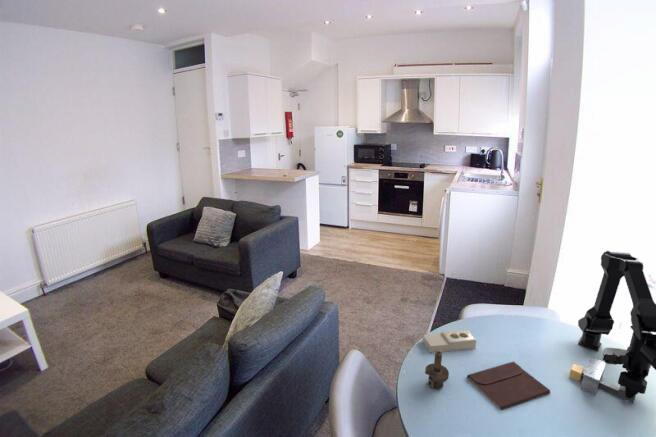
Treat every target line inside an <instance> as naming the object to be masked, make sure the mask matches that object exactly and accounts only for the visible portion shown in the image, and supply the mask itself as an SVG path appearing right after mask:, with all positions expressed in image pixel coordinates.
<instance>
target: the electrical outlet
mask: <svg viewBox="0 0 656 437" xmlns="http://www.w3.org/2000/svg"><path fill="white" fill-rule="evenodd" d="M422 342H423V344H424V345H425V347H426V348H427V350H428V352H429V353H435V352H436V351H440V352H441V353H443V352H452V351H463V350H475V349H476V346H477V339H476V337H474V336H473V334H472V333H471V332H470V331H469V330H468V329H459V330H458V329H457V330H446V331H441V333H430V334H423V335H422Z"/></svg>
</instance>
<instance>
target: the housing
mask: <svg viewBox="0 0 656 437" xmlns="http://www.w3.org/2000/svg"><path fill="white" fill-rule="evenodd" d="M606 366H607V363H605V361H604V360H601V359H597V358H596V357H594V356H593V357H591V358H590V360H589V362H588V365H587V367H586V369H585V371H584V372H583V373H584V376H583V380H581V381H582V382H581V385H580V390H582V391H585V392H587V393H590V394H592V395H594V396H597V395H596V394H597V393H598V390H599V387H598V386H599V382H600V380H601V381H603V380H602V379H603V376H604V375H605V374H604V372H605V368H606Z"/></svg>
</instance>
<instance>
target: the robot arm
mask: <svg viewBox="0 0 656 437" xmlns="http://www.w3.org/2000/svg"><path fill="white" fill-rule="evenodd" d="M600 260H601V262H600V266H601V268H602V270H603V272H604V273H603V275H602V278H601V282H600V285H599V289H598V291H597V295H596V298H595V302H594V305H593V306H592V307H591V308H588V309H587V311H586V312H585V315H584V317H581V318H580V319H578V321H577V326H578V327H579V329H580V330H581V331H582V334H581V337H580V339H578V342H577V345H579V346H582V347H585V348H587V349H591V350H593V351H596V352H599V350H600V348H601V346H602V342H601V339H602V335H607V336H608V335H609V334H610V333H611V331H612V330H613V327H614V324H615V321H614V318H613V317H612V314H611V310H612V306H613V304H614V300H615V297H616V295H617V293H618V289H619V285H620V283H621V280H622V278H623V277H624V279H625V282H626V283H625V284H626V286H627V290H628V292H629V295H630V298H631V302H632V306H633V307H631V311H630V313H629V314H630V323H631V325H630V330H632V336H631V339H630V343H629V346H627V348H626V349H623V348H618V347H617V348H615V347H605V348H603V351H602V356H603V357H602V361H603V362H605V363H606V365H607V364H608V365H613V366H614V365H622V366H621V367H622V368H623V369H625V370H626V371H621V372H620V374H619V377H618V380H617V384H618V385H619V386H620V385H621V386H624V387H625V391H626V397H627V398H629V399H631V398H632V397H633V396H635V395H636V396H637V395H638V394H643V395H645V394H646V390H647V387H648V386H647V385H648V381H647V380H646V377H648V376H649V373H650V369H651V367H652V368H653V369H654V370H655V371H656V334H653V333H656V303H655V302H654V299H653V297H652V296H653V295H652V293H651V290H650V288H649V285H648V282H647V278H646V276H645V273H644V263H643V262H642V261H640V260H639V257H636V256H633V255H631V253H630V252H628V251H627V252H626V251H615V250H606V251H604V252H602V255H601V257H600ZM636 396H635V397H636Z"/></svg>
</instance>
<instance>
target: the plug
mask: <svg viewBox="0 0 656 437" xmlns="http://www.w3.org/2000/svg"><path fill="white" fill-rule="evenodd" d="M584 370H585V367H583V366H580V365H579V364H578V365H577V364H575V363H573V364H572V366H571V367H570V371H569V376H568V377H569V378H571V379H573V380H576V381H578V382H581V381H583V376H584V373H585V372H584ZM598 388H599V389H603V390H605V391H607V392H610V393H611V394H614V395H617V396H616V398H619V399H621V400H623V401H626V402H628V403H630V404H634V402H635V399H636V396H637V394H636V395H635V396H633V397H632V398H631V399H629V398H627V397H626V391H625V387H624V386H621V385H619V387H617V386H615V385H613V384H610V383H608V382H606V381H603V380H600V382H599V386H598Z"/></svg>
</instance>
